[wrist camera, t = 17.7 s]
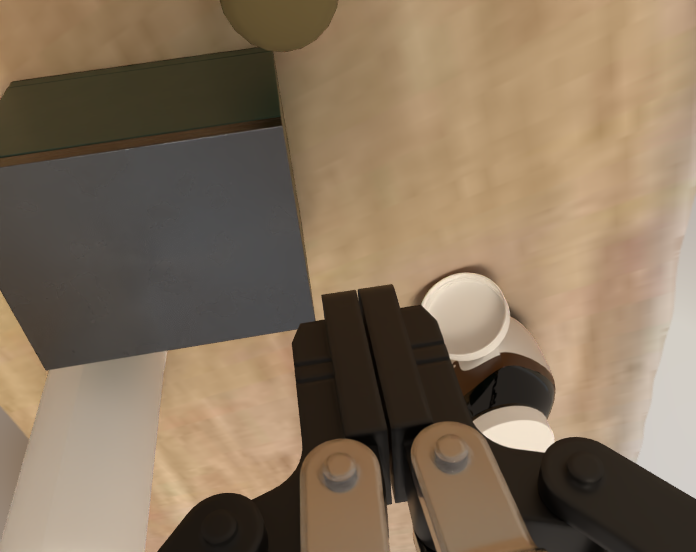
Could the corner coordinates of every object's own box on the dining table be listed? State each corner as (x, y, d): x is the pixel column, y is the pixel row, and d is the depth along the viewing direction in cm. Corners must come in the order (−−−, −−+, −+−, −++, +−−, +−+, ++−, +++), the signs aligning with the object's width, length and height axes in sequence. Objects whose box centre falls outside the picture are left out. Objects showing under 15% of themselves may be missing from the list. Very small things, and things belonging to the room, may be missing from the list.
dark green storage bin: (88, 259, 47) (63, 354, 40) (10, 81, 39) (-39, 162, 32) (302, 226, 48) (314, 314, 41) (272, 44, 40) (281, 115, 32)
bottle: (93, 375, 55) (-7, 846, 32) (40, 308, 49) (-124, 811, 27) (185, 348, 54) (152, 807, 31) (142, 278, 49) (64, 764, 26)
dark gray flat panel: (49, 358, 40) (45, 371, 39) (-58, 166, 31) (-65, 177, 31) (314, 315, 41) (316, 326, 40) (281, 115, 32) (282, 125, 32)
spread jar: (458, 387, 62) (496, 498, 53) (363, 343, 56) (388, 458, 48) (554, 304, 57) (615, 412, 48) (461, 246, 51) (509, 356, 42)
